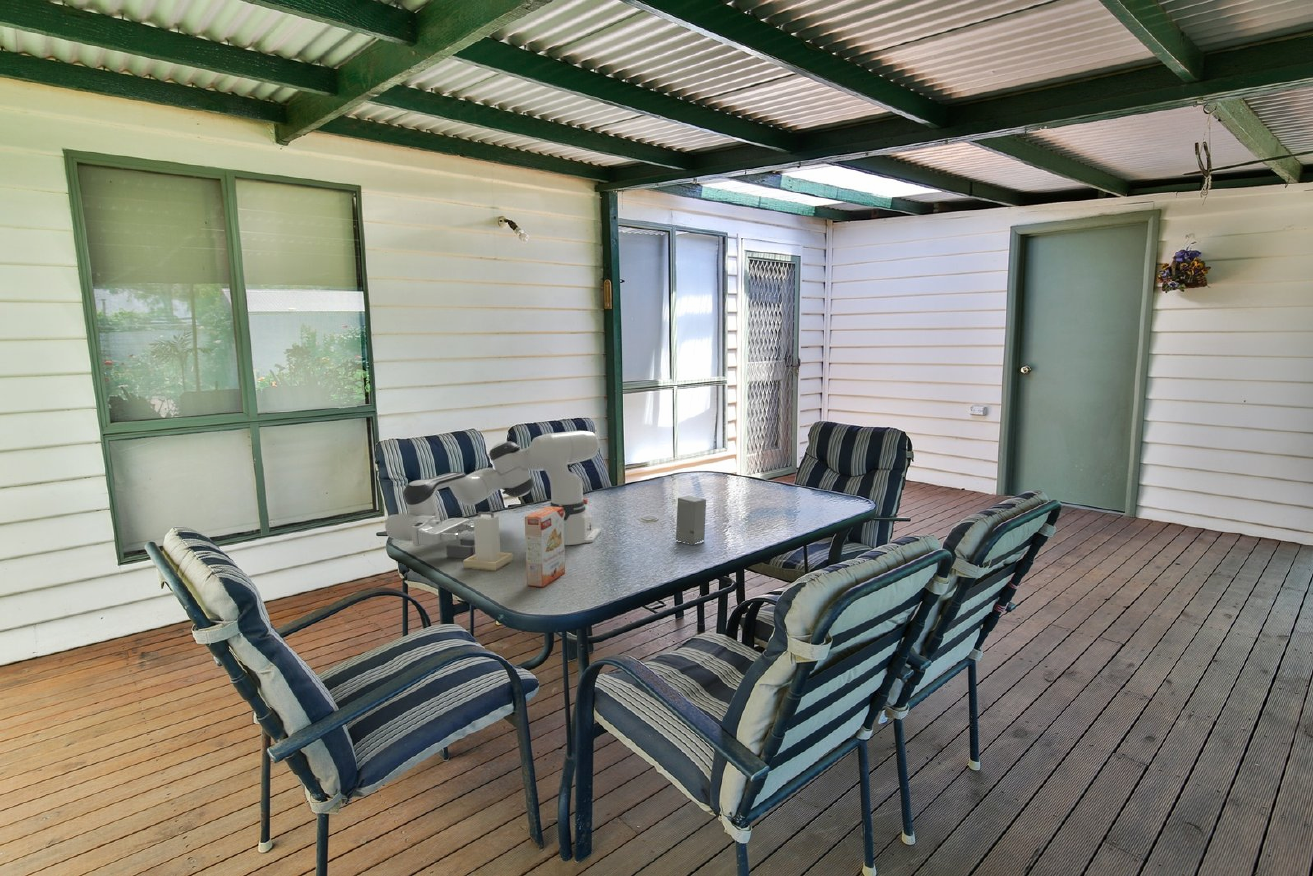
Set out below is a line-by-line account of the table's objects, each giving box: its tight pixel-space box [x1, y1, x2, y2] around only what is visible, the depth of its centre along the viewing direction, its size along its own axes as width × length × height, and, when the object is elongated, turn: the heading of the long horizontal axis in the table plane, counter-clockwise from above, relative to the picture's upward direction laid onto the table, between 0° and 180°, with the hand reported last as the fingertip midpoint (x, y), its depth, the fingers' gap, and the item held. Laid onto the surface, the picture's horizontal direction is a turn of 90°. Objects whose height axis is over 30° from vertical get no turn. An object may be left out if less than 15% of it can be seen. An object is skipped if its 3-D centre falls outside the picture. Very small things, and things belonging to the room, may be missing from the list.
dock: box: [446, 537, 475, 559], centre depth 239 cm, size 9×10×4 cm
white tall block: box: [472, 511, 501, 562], centre depth 226 cm, size 5×6×16 cm
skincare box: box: [675, 495, 707, 545], centre depth 247 cm, size 8×7×16 cm
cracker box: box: [524, 505, 566, 588], centre depth 210 cm, size 14×6×21 cm, turn 160°
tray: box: [462, 551, 514, 572], centre depth 227 cm, size 11×12×2 cm
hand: (465, 532), depth 228 cm, fingers open, 8 cm apart
